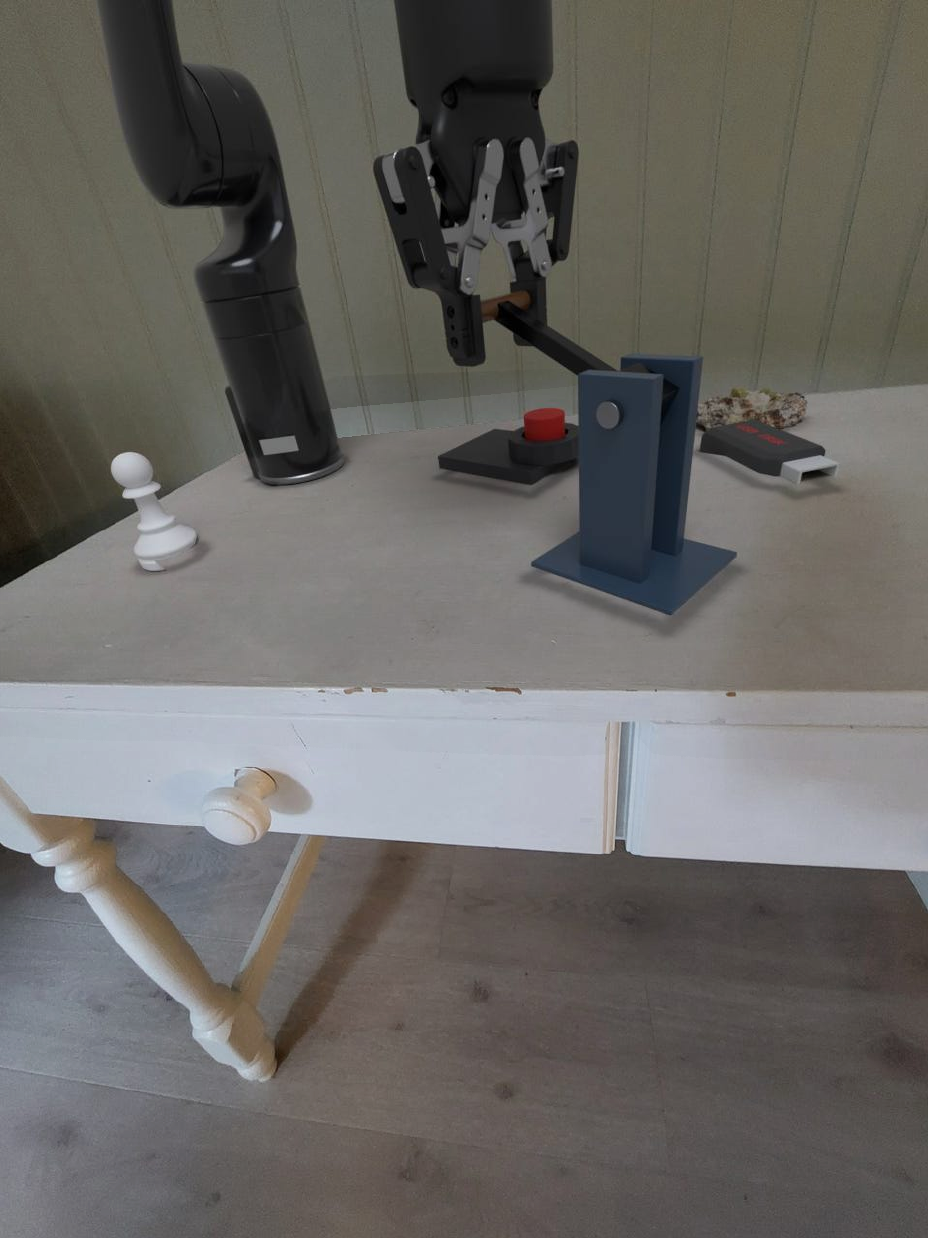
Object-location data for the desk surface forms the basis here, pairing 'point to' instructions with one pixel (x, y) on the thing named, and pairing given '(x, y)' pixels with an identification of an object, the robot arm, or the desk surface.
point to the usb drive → (767, 450)
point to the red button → (544, 424)
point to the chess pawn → (150, 513)
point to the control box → (512, 455)
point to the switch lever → (556, 340)
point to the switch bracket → (637, 487)
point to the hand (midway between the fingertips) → (500, 353)
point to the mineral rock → (752, 408)
